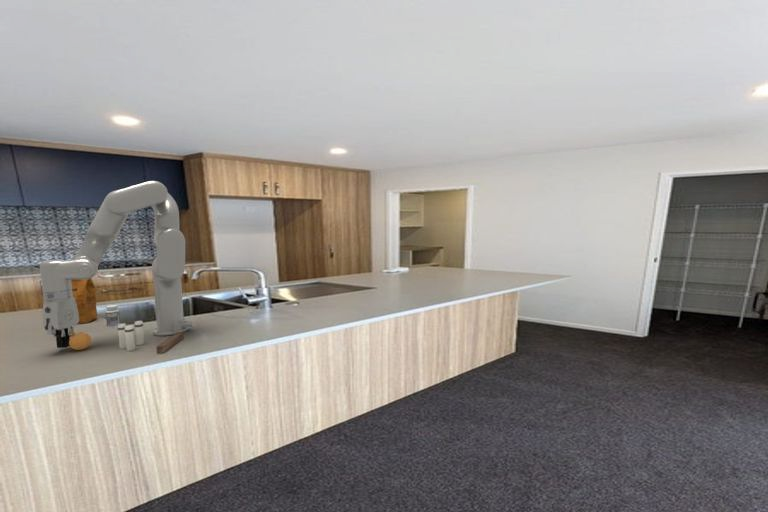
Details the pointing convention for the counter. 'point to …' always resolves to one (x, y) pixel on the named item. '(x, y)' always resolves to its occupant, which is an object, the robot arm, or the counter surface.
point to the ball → (80, 341)
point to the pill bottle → (112, 315)
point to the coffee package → (85, 299)
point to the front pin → (122, 335)
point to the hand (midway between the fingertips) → (63, 346)
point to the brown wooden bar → (169, 342)
